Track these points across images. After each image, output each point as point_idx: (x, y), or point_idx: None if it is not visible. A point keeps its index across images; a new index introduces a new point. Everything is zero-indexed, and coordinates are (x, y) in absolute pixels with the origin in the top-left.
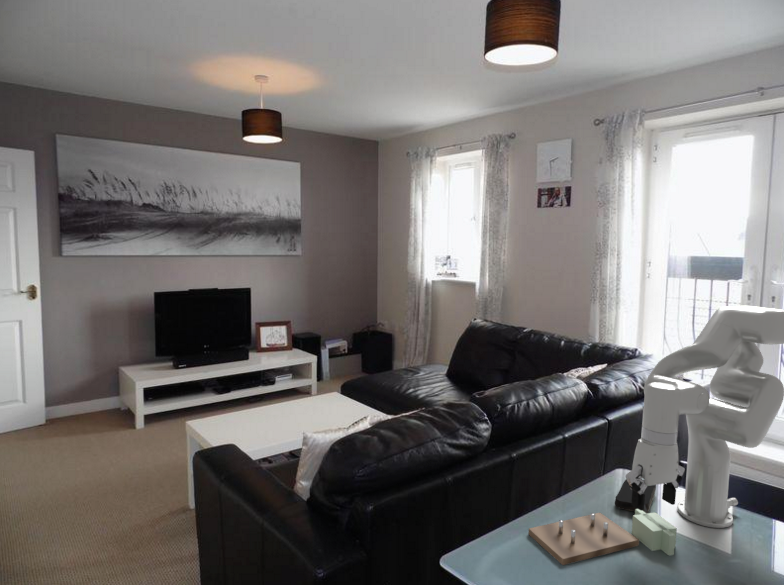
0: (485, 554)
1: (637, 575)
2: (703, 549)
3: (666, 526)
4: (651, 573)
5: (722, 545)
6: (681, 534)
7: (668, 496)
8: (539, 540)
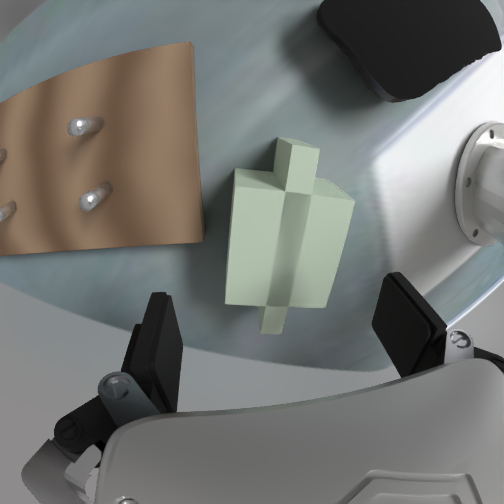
0: None
1: (122, 322)
2: (365, 292)
3: (301, 292)
4: None
5: None
6: (383, 225)
7: (390, 326)
8: None
